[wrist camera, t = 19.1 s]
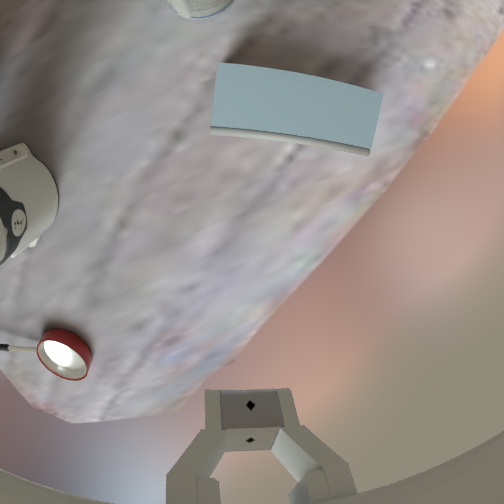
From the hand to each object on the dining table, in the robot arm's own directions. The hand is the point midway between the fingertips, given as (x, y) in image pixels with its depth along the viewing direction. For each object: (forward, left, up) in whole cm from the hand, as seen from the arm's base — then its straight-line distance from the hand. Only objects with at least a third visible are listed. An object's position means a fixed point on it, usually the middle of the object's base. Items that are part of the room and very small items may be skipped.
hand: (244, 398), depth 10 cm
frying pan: (-43, -43, -39) cm, 72 cm away
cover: (+8, +9, -30) cm, 33 cm away
